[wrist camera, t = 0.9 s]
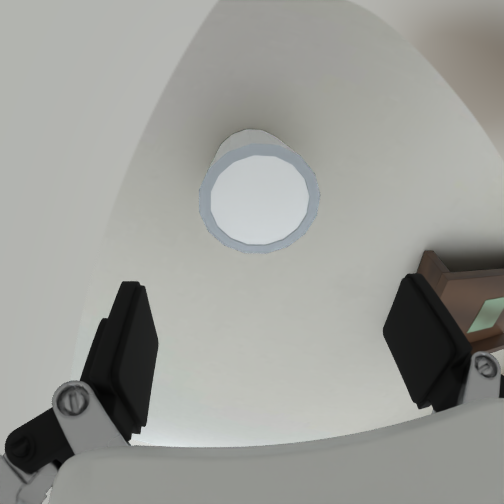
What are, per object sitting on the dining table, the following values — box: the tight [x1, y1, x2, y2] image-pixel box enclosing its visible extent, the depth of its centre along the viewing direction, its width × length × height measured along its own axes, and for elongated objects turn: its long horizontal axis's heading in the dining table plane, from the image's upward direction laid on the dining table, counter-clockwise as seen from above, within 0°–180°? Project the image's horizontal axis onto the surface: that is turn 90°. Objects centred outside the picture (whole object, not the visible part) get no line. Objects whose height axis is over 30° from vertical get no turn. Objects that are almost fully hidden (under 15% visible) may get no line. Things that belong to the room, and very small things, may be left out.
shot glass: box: [199, 129, 320, 253], centre depth 20 cm, size 7×7×7 cm
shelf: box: [417, 251, 504, 356], centre depth 30 cm, size 12×18×7 cm, turn 88°
